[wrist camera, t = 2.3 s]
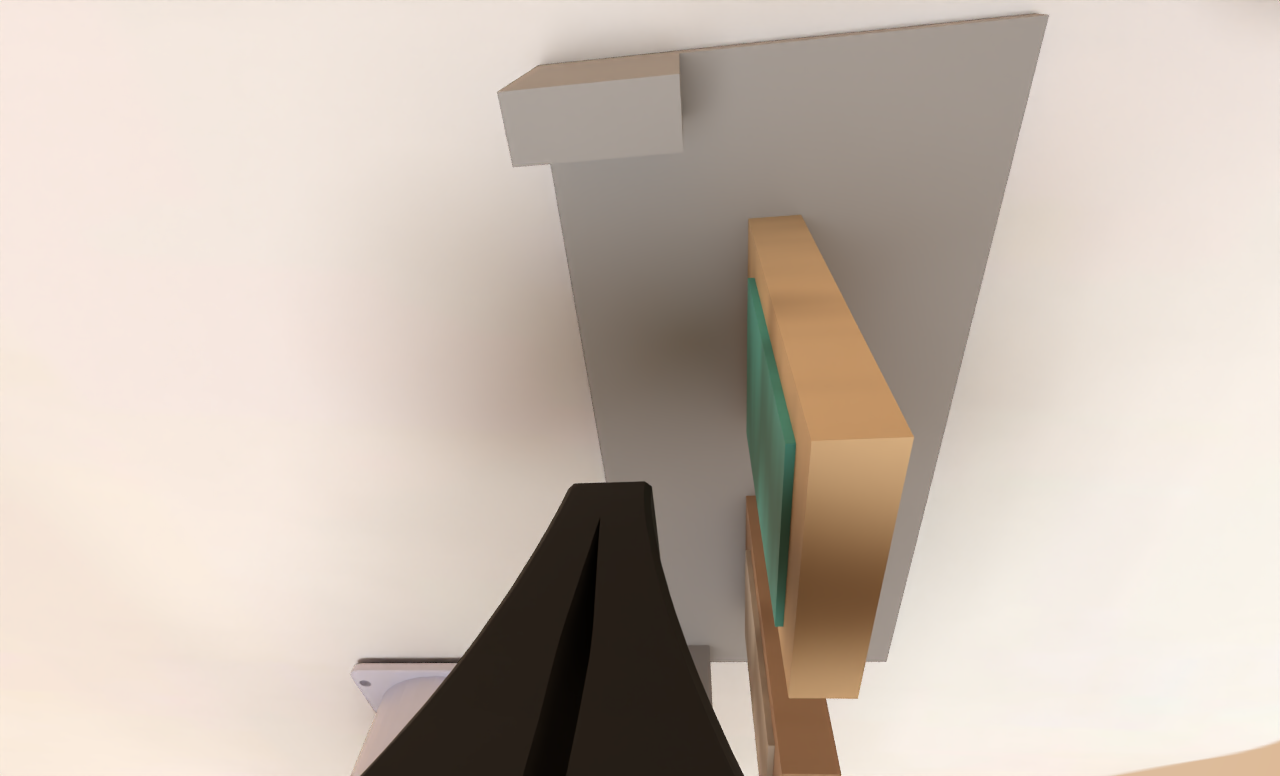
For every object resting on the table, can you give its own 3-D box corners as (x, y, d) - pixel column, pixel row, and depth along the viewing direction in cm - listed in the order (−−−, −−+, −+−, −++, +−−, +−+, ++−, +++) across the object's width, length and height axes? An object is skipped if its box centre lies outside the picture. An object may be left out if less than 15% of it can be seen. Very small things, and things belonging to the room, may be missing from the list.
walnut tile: (777, 609, 22) (819, 877, 16) (741, 610, 22) (767, 875, 16) (784, 494, 19) (841, 774, 12) (741, 495, 19) (774, 773, 12)
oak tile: (789, 419, 17) (857, 698, 10) (741, 422, 17) (780, 698, 11) (801, 214, 14) (913, 437, 7) (741, 219, 14) (799, 442, 7)
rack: (882, 650, 24) (910, 741, 21) (638, 651, 25) (633, 738, 22) (1035, 13, 12) (1152, 26, 9) (538, 65, 13) (497, 92, 10)
